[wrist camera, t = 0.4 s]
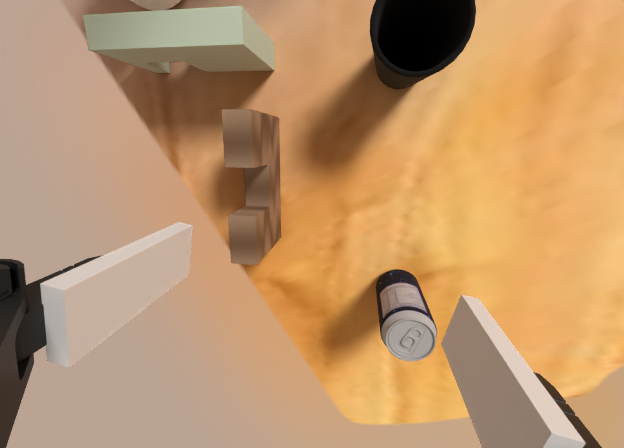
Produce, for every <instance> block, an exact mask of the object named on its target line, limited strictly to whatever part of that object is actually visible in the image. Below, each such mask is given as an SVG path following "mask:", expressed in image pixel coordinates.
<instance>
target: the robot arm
mask: <svg viewBox="0 0 624 448" xmlns="http://www.w3.org/2000/svg"><path fill="white" fill-rule="evenodd" d="M192 231H193V226H192V225H189V224H185V223H181V222H177V223H175V224H173V225H171V226H168V227H166V228H164V229H162V230H160V231H157V232H155V233H153V234H150V235H148V236H146V237H144V238H141V239H139V240H137V241H135V242H132V243H131V244H128V245H126V246H124V247H121V248H119V249H117V250H115V251H112V252H110V253H108V254H106V255H102V256H97V257H93V258H88V259H86V260H83V261H81V262H79V263H76V264H75V265H74V266H69V267H67V268H65V269H63V271H58V272H56V273H53V274H51V275H49V276H46V277H44V278H42V279H39V280H37V281H35V282H33V283H30V284H28V285H26V281H25V271H24V264H23V263H21V262H20V261H17V260H12V259H0V448H6V446H7V443H8V440H9V436H10V433H11V430H12V427H13V424H14V421H15V418H16V415H17V412H18V409H19V406H20V403H21V400H22V397H23V394H24V391H25V388H26V385H27V382H28V379H29V376H30V373H31V370H32V367H33V364H34V355H33V353H34V352H36V351H38V350H39V349H41V348H42V347H44V346H45V345H46V353H47V361H50V362H53V363H56V364H59V365H62V366H65V367H70V366H72V365H73V364H74V363H76V362H77V361H78V360H79V359H81V358H82V357H83V356H85V355H86V354H87V353H88V352H90V351H91V350H92V349H94V348H95V347H96V346H98V345H99V344H100V343H101V342H103V341H104V340H105V339H107V338H108V337H109V336H110V335H112V334H113V333H114V332H116V331H117V330H118V329H119V328H121V327H122V326H123V325H125V324H126V323H127V322H128V321H130V320H131V319H132V318H133V317H135V316H136V315H137V314H139V313H140V312H141V311H142V310H144V309H145V308H146V307H147V306H149V305H150V304H152V303H153V302H154V301H155V300H157V299H158V298H159V297H161V296H162V295H163V294H164V293H166V292H167V291H168V290H170V289H171V288H172V287H173V286H175V285H176V284H177V283H179V282H180V281H181V280H182V279H184V278H185V277H186V276H187V275H189V267H190V254H191V243H192ZM441 344H442V346H443V349H444V352H445V354H446V357H447V359H448V362H449V364H450V367H451V369H452V372H453V374H454V377H455V380H456V382H457V385H458V387H459V390H460V392H461V395H462V397H463V400H464V402H465V405H466V407H467V410H468V413H469V415H470V418H471V420H472V423H473V425H474V428H475V430H476V433H477V435H478V438H479V440H480V443H481V445H482V448H602V447H601V446H600V445H599V444H598V442H597V441H596V440H595V438H594V437H593V436H592V435H591V434H590V432H589V431H588V429H587V428H586V427H585V426H584V425H583V423H582V422H581V420H580V419H579V418H578V417H577V416H575V413H574V411H573V410H572V409H571V408H570V407H569V405H568V404H566V401H565V400H564V399H563V397H562V396H561V395H560V394H559V392H558V391H557V390H556V388H555V387H554V386H552V385H551V384H550V383H549V382H548V381H547V380H546V379H544V378H543V377H542V376H541V375H540V374H538V373H534V372H533V371H532V370H531V369H530V367H529V366H528V364H527V363H526V362H525V360H524V359H523V358H522V356H521V355H520V354H519V352H518V351H517V350H516V348H515V347H514V346H513V344H512V343H511V342H510V340H509V339H508V337H507V336H506V335H505V333H504V332H503V331H502V329H501V328H500V327H499V325H498V324H497V323H496V321H495V320H494V319H493V317H492V316H491V315H490V313H489V312H488V311H487V309H486V308H485V306H484V305H483V304H482V302H481V301H480V300H479V299H478V298H474V297H470V296H466V295H461V297H460V299H459V302H458V304H457V307H456V309H455V312H454V314H453V316H452V319H451V321H450V324H449V326H448V329H447V331H446V334H445V336H444V338H443V341H442V343H441Z"/></svg>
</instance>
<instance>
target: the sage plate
mask: <svg viewBox="0 0 624 448" xmlns="http://www.w3.org/2000/svg"><path fill="white" fill-rule="evenodd" d="M83 20H84V26H85V32H86V38H87V43H88V49H89V50H90V51H93V52H96V53H99V54H102V55H105V56H108V57H111V58H113V59H116V60H119V61H122V62H125V63H128V64H131V65H134V66H137V67H140V68H143V69H146V70H149V71H152V72H155V73H170V67H169V62H186V63H188V64H190V65H192V66H194V67H196V68H199V69H201V70H203V71H205V72H225V71H268V70H274V42H273V41H272V40H271V39H270V38H269V36H268V35H267V34H266V33H265V32H264V31H263V30H262V28H261V27H260V26H259V25H258V24H257V23H256V22H255V20H254V19H253V18H252V17H251V16H250V15H249V13H248V12H247V11H246V10H245V9H244V8H243V7H242V6H226V7H209V8H191V9H174V10H157V11H140V12H123V13H105V14H88V15H83Z"/></svg>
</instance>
